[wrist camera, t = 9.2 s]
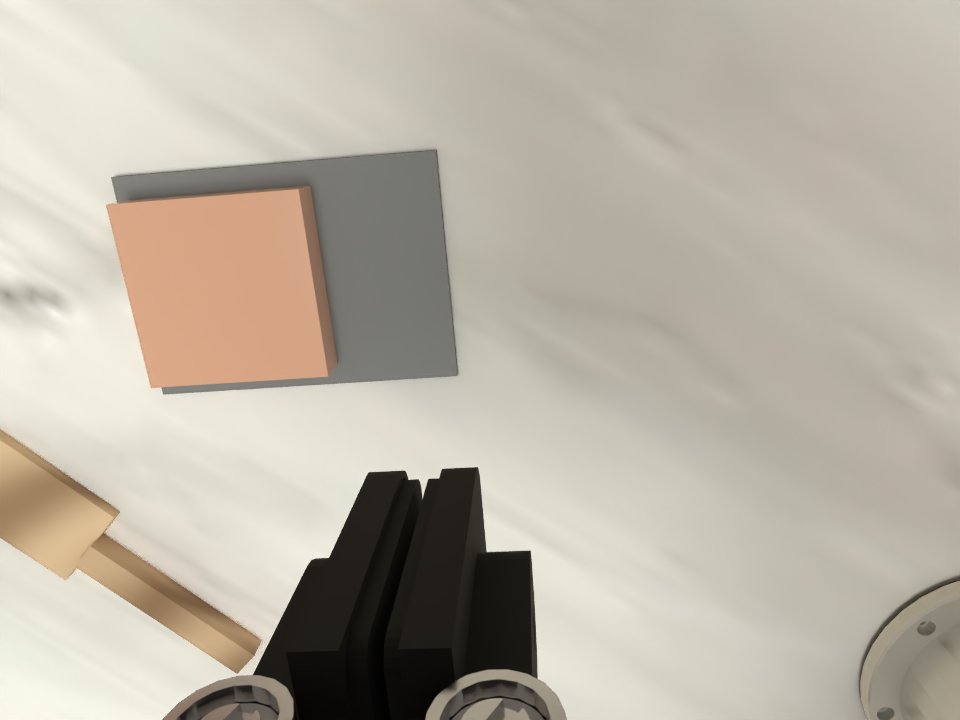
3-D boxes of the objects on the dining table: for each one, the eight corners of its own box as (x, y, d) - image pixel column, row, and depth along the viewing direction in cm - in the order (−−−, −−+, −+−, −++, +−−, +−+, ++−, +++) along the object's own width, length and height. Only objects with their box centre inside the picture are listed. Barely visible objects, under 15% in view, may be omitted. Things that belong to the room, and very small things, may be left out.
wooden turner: (279, 620, 38) (272, 636, 37) (228, 675, 39) (219, 692, 38) (-1, 428, 35) (-19, 438, 33) (-47, 495, 36) (-65, 507, 35)
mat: (457, 373, 33) (457, 375, 32) (166, 392, 34) (163, 394, 33) (436, 149, 30) (435, 150, 29) (114, 176, 30) (111, 177, 30)
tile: (328, 376, 31) (150, 387, 31) (337, 362, 32) (169, 373, 33) (298, 189, 28) (106, 204, 29) (310, 185, 30) (129, 200, 30)
